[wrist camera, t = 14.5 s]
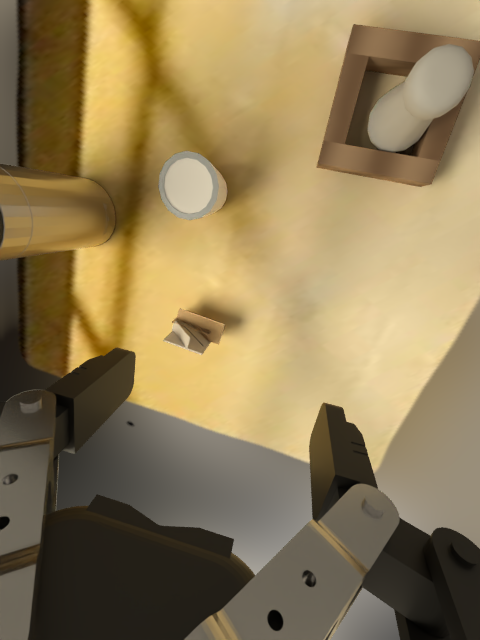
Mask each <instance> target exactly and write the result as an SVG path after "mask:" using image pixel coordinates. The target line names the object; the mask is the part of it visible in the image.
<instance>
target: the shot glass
mask: <svg viewBox="0 0 480 640" xmlns="http://www.w3.org/2000/svg"><path fill="white" fill-rule="evenodd" d="M159 191H160V195H161V199H162V201H163V203H164V204H165V206H166V207H167V209H168V210H169V211H170V212H171V213H173V214H174V215H176V216H177V217H178V218H182V219H187V220H193V219H198V218H202V217H205V216H207V215H210V214H213V213H215V212H217V211H218V210H219V209H221V208H222V206H223V205H224V203H225V201H226V198H227V192H228V191H227V185H226V182H225V180H224V178H223V177H222V175H221V174H220V172H219V171H218V170H217V169H216V168H215V167H214V166H213V165H212V164H211V163H210V161H208V160H207V159H206V158H204V157H203V156H202V155H200V154H199V153H194V152H190V151H184V152H180V153H177V154H174V155H173V156H172V157H171V158H170V159H168V160H167V161H166V162H165V164H164V166H163V168H162V170H161V172H160V176H159Z"/></svg>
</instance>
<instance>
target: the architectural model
mask: <svg viewBox="0 0 480 640" xmlns="http://www.w3.org/2000/svg"><path fill="white" fill-rule="evenodd" d="M184 322H186V323H184ZM172 323H173V328H172V330H173V331H172V332H171V333H170V334H169V335H168V336H167V337H166V338H164V339H163V341H164V342H167V343H170V344H173V345H176V346H178V347H181V348H184V349H187V350H189V351H192V352H195V353H198V354H201V355H202V354H203V353H204V351H205V350H206V348H207V347H208V346H209V344H210V343H211V342H213V343H216V344H219V343H220V339H221V336H222V333H223V329H224V326H225V324H223V323H220V322H217V321H214V320H211V319H209V318H206V317H203V316H200V315H197V314H194V313H192V312H189V311H186V310H183V309H179V311H178V315H177V318H175V319H174V321H172ZM187 323H189V324H187ZM190 324H191V325H190Z"/></svg>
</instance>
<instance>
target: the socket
mask: <svg viewBox="0 0 480 640" xmlns="http://www.w3.org/2000/svg"><path fill="white" fill-rule="evenodd" d="M447 44H452V45H456V46H461V47H463V48H464V49H465V50H466V51H467V53H468V54H469V55H470V56H471V58H472V63H473V68H474V72H475V70H476V67H477V65H478V62H479V59H480V41H476V40H468V39H461V38H453V37H446V36H438V35H431V34H423V33H416V32H408V31H401V30H393V29H385V28H378V27H370V26H363V25H355V24H354V25H353V28H352V31H351V35H350V38H349V42H348V46H347V50H346V54H345V58H344V62H343V66H342V69H341V73H340V77H339V81H338V85H337V89H336V93H335V97H334V101H333V105H332V109H331V113H330V117H329V121H328V125H327V129H326V133H325V137H324V140H323V144H322V148H321V152H320V156H319V160H318V164H317V168H322V169H328V170H333V171H338V172H344V173H349V174H355V175H360V176H365V177H371V178H376V179H382V180H387V181H392V182H398V183H403V184H409V185H414V186H419V187H421V186H426V185H430V184H432V181H433V179H434V176H435V173H436V171H437V168H438V166H439V163H440V160H441V158H442V155H443V153H444V150H445V148H446V145H447V142H448V140H449V137H450V135H451V132H452V129H453V127H454V124H455V122H456V119H457V116H458V114H459V111H460V109H461V106H462V104H463V101H464V98H465V96H466V94H465V95H464V97H463V98H462V100H461V101H460V102H459V104H458V105H457V106H455V107H454V108H452V109H451V110H450V111H448V112H447V113H445V114H444V115H442V116H440V117H437V118H434V119H433V120H432V122H431V123H430V125H429V126H428V128H427V129H426V130H425V132H424V133H423V135H422V136H421V137H420V139H419V140H418V141H417V142H416V143H415V144H414V147H413V150H412V153H411V156H408V155H403V154H397V153H391V152H386V151H380V150H374V149H368V148H363V147H357V146H351V145H346V144H345V141H346V137H347V134H348V130H349V127H350V123H351V119H352V116H353V112H354V109H355V105H356V101H357V98H358V94H359V91H360V87H361V83H362V80H363V76H364V73H365V70H366V71H372V72H379V73H386V74H393V75H399V76H406V77H408V75H409V73H410V72H411V70H412V68H413V67H414V65H415V64H416V62H417V61H418V60H420V59H421V58H422V57H423V56H424V55H426V54H427V53H428V52H429V51H431V50H432V49H433V48H436V47H439V46H443V45H447ZM473 75H474V74H473ZM472 78H473V77H472ZM466 93H467V92H466Z"/></svg>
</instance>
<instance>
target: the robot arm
mask: <svg viewBox="0 0 480 640" xmlns="http://www.w3.org/2000/svg"><path fill="white" fill-rule="evenodd" d="M115 220H116V219H115V210H114V206H113V203H112V201H111V199H110V197H109V195H108V194H107V192H106V191H105V190H104V189H103V188H102V187H101V186H100V185H99V184H97V183H96V182H94V181H92V180H90V179H86V178H80V177H75V176H69V175H65V174H59V173H53V172H47V171H42V170H36V169H30V168H24V167H19V166H12V165H7V164H1V163H0V261H1V260H8V259H14V258H20V257H27V256H34V255H40V254H47V253H54V252H60V251H67V250H74V249H81V248H87V247H94V246H98V245H101V244H103V243H105V242H106V241H107V240H108V239H109V238H110V236H111V235H112V233H113V230H114V227H115ZM134 372H135V353H134V352H132V351H128V350H124V349H121V348H115V349H113V350H112V351H110V352H109V353H108V354H106V355H105V356H98V357H95V358H92V359H89V360H87V361H86V362H85V363H83V364H82V365H80V366H79V368H78V367H77V368H76V369H74V370H73V371H72V372H71V373H69V374H67V375H66V376H64V377H63V378H61V379H60V380H58V381H57V382H55V383H54V384H53V385H51V386H50V387H48V388H47V389H45V390H30V391H25V392H22V393H19V394H17V395H15V396H13V397H12V398H10V399H9V400H8V401H7V402H0V640H330V639H331V638H332V636H333V635H334V633H335V631H336V630H337V628H338V627H339V625H340V623H341V621H342V620H343V619H344V617H345V615H346V614H347V612H348V610H349V609H350V607H351V606H352V604H353V602H354V601H355V599H356V598H357V596H358V594H359V593H360V591H361V590H362V588H365V589H366V590H367V591H369V592H370V593H372V594H373V595H375V596H376V597H377V598H379V599H380V600H382V601H383V602H385V603H386V604H388V605H389V606H390V607H392V608H393V609H394V610H395V615H396V620H397V626H398V630H399V636H400V640H480V549H479V548H478V547H477V546H476V545H475V544H474V543H473V542H472V541H470V540H469V539H468V538H466V537H465V536H463V535H462V534H460V533H458V532H456V531H454V530H452V529H448V528H443V527H442V528H437V529H435V530H434V531H433V533H432V534H431V536H430V535H428V534H426V533H425V532H423V531H421V530H419V529H418V528H416V527H414V526H413V525H411V524H409V523H407V522H405V521H404V520H402V519H401V518H400V517H399V514H398V511H397V509H396V507H395V505H394V504H393V502H392V501H391V500H390V499H389V498H388V497H387V496H386V495H385V494H384V493H383V492H381V491H380V490H378V487H377V484H376V480H375V477H374V473H373V470H372V466H371V463H370V460H369V457H368V453H367V449H366V447H365V442H364V439H363V436H362V434H361V432H360V431H359V430H358V428H357V427H356V426H355V425H354V424H352V423H349V422H346V418H345V414H344V410H343V408H342V407H339V406H335V405H331V404H327V403H323V404H322V406H321V408H320V411H319V414H318V417H317V420H316V422H315V425H314V428H313V431H312V434H311V438H310V445H309V452H310V473H311V494H312V515H313V519H312V520H311V521H310V522H309V523H307V524H306V525H305V526H304V527H303V528H302V529H301V530H300V532H298V533H297V534H296V536H294V537H293V538H292V539H291V540H290V541H289V542H288V543H287V544H286V545H285V546H284V547H283V549H282V550H280V552H278V554H276V556H274V557H273V559H271V561H269V563H267V565H265V566H264V567H263V568H262V570H260V572H259V573H257V575H254V573H253V572H252V571H251V569H249V567H248V566H247V565H246V564H245V563H244V562H243V561H242V560H241V559H240V558H238V557H237V556H236V555H234V554H233V553H232V552H231V551H232V546H233V541H234V539H232V538H229V537H226V536H223V535H219V534H216V533H213V532H210V531H207V530H204V529H201V528H193V527H171V526H160V525H158V524H156V523H155V522H153V521H152V520H150V519H149V518H147V517H146V516H145V515H143V514H142V513H140V512H139V511H137V510H136V509H134V508H133V507H132V506H130V505H128V504H125V503H122V502H119V501H116V500H113V499H110V498H106V497H103V496H100V495H96V497H95V498H94V499H93V501H92V502H91V504H90V505H89V506H76V507H70V508H65V509H61V510H58V511H56V500H57V483H58V467H59V453H60V452H61V451H62V450H64V451H67V452H70V453H73V454H75V453H76V452H77V451H78V450H79V449H80V448H81V447H82V446H83V445H84V444H85V443H86V441H87V440H88V439H89V438H90V437H91V436H92V435H93V434H94V433H95V432H96V431H97V430H98V429H99V428H100V426H101V425H102V424H103V423H104V422H105V421H106V420H107V419H108V418H109V417H110V416H111V415H112V414H113V413H114V412H115V410H116V409H117V408H118V407H119V406H120V405H121V404H122V403H123V402H124V401H125V400H126V399H127V398H128V396H129V395H130V393H131V391H132V388H133V384H134Z"/></svg>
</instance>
